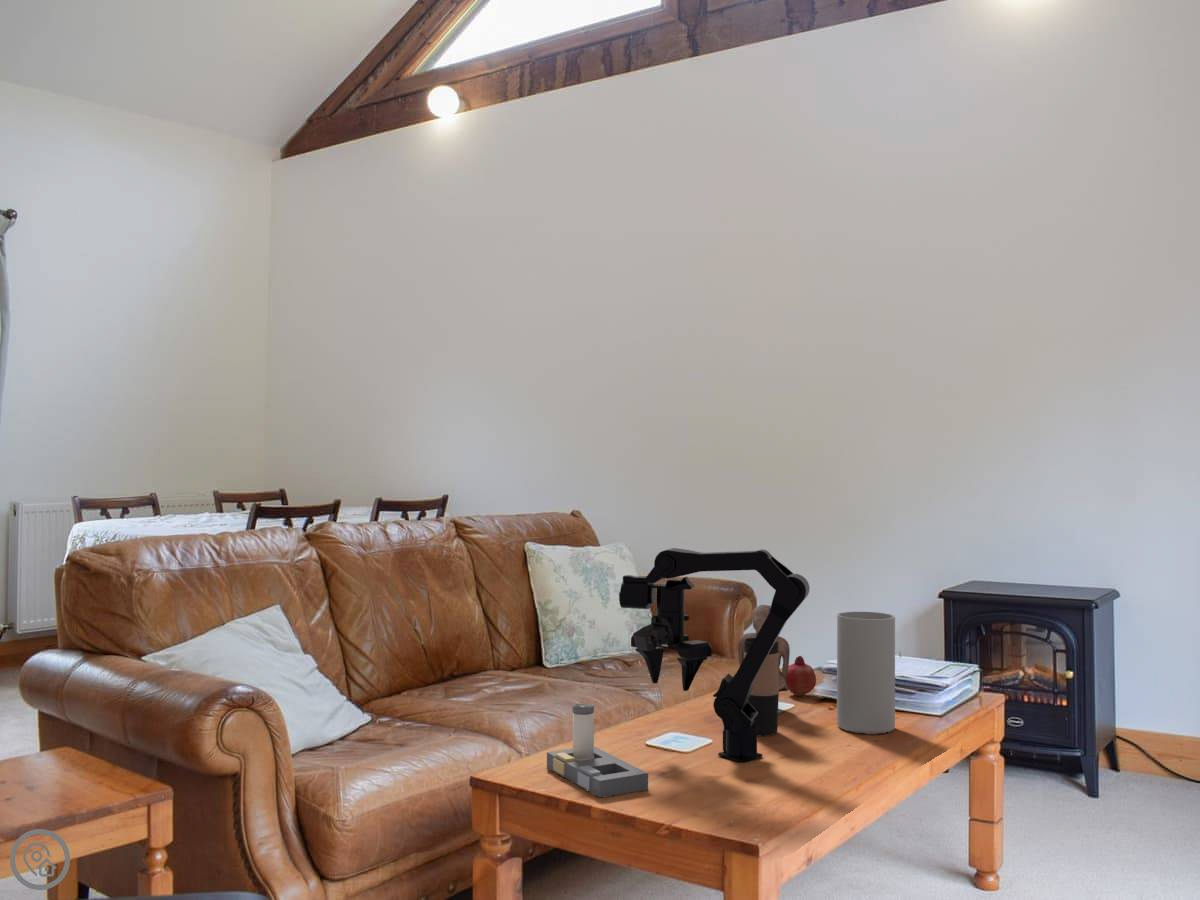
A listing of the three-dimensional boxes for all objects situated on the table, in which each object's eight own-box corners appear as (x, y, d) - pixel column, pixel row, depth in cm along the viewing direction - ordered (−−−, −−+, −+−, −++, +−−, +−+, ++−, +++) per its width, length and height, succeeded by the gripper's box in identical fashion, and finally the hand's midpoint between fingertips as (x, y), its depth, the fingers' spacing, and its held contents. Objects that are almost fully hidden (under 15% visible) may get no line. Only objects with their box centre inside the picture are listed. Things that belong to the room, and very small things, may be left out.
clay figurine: (730, 711, 253) (730, 605, 253) (743, 702, 262) (743, 600, 262) (784, 717, 247) (784, 609, 248) (795, 708, 256) (795, 603, 257)
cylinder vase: (874, 719, 245) (874, 610, 246) (906, 732, 234) (906, 618, 234) (826, 723, 241) (826, 612, 242) (856, 737, 230) (856, 620, 230)
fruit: (819, 699, 266) (819, 659, 267) (786, 699, 266) (786, 659, 266) (812, 692, 275) (812, 653, 275) (780, 692, 274) (780, 653, 274)
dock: (648, 789, 192) (648, 770, 192) (597, 798, 187) (597, 778, 187) (592, 761, 210) (592, 743, 210) (545, 768, 205) (545, 749, 205)
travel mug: (739, 734, 232) (739, 641, 232) (748, 726, 239) (748, 636, 239) (774, 737, 229) (774, 644, 229) (782, 729, 236) (782, 638, 236)
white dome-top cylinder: (598, 770, 204) (597, 704, 204) (587, 775, 200) (586, 709, 200) (579, 767, 206) (579, 702, 206) (568, 772, 202) (568, 706, 203)
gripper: (611, 608, 221) (610, 684, 220) (672, 619, 206) (672, 700, 206) (651, 604, 228) (651, 677, 227) (713, 614, 213) (713, 692, 213)
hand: (670, 686), depth 218 cm, fingers open, 9 cm apart
